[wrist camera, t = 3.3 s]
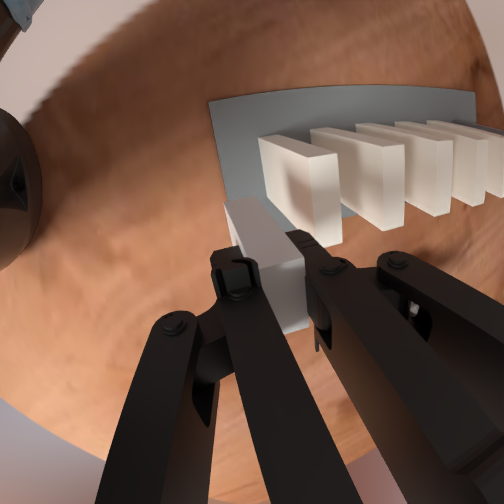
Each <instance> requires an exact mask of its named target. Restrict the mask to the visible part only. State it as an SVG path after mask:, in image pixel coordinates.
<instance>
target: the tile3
mask: <svg viewBox="0 0 504 504" xmlns="http://www.w3.org/2000/svg"><path fill="white" fill-rule="evenodd" d="M355 125H356V133H359V134H364V135H368V136H373V137H377V138H381V139H385V140H389V141H393V142H397V143H401V144H404V151H405V200H404V201H406V202H408V203H410V204H412V205H414V206H416V207H417V208H419V209H421V210H423V211H425V212H427V213H428V214H430V215H432V216H434V217H435V216H439V215H442V214H446V213H450V202H451V189H452V169H453V140H450V139H446V138H442V137H438V136H434V135H430V134H426V133H421V132H417V131H412V130H407V129H403V128H397V127H392V126H387V125H381V124H375V123H360V124H355Z"/></svg>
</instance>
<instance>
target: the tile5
mask: <svg viewBox="0 0 504 504" xmlns="http://www.w3.org/2000/svg"><path fill="white" fill-rule="evenodd" d="M426 121H427V125H430V126H435V127H440V128H444V129H449V130H453V131H458V132H462V133H466V134H470V135H473V136H477V137H481V138H484V139H488V162H487V178H486V189H485V191H487V192H489V193H491V194H493V195H495V196H497V197H499V198H503V197H504V136H502V135H499V134H495V133H491V132H488V131H484V130H480V129H476V128H471V127H467V126H463V125H458V124H453V123H449V122H443V121H438V120H426Z"/></svg>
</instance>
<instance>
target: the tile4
mask: <svg viewBox="0 0 504 504" xmlns="http://www.w3.org/2000/svg"><path fill="white" fill-rule="evenodd" d="M395 127H397V128H403V129H407V130H412V131H417V132H421V133H426V134H430V135H434V136H438V137H442V138H446V139H450V140H453V169H452V189H451V196H452V197H454V198H456V199H458V200H460V201H462V202H464V203H466V204H468V205H470V206H472V207H473V206H477V205H480V204H483V203H484V199H485V189H486V178H487V162H488V139H484V138H481V137H477V136H473V135H470V134H466V133H462V132H458V131H453V130H449V129H444V128H440V127H435V126H430V125H425V124H420V123H415V122H409V121H400V122H395Z"/></svg>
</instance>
